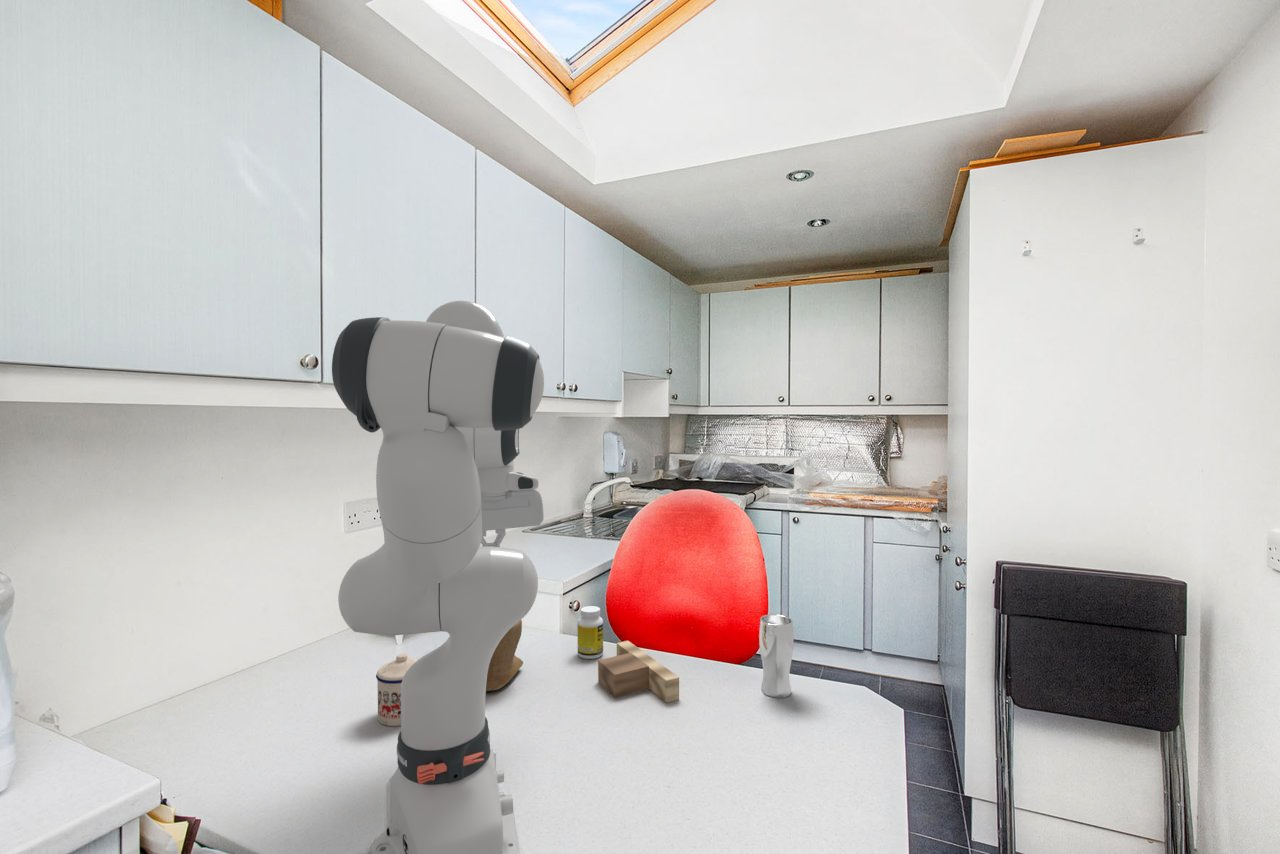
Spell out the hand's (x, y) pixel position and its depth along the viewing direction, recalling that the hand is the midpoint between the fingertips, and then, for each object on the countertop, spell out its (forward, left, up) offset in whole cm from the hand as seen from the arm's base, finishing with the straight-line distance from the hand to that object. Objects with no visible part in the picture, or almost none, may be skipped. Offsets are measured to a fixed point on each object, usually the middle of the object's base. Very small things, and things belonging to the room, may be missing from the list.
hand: (491, 553), depth 111 cm
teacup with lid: (+7, +14, -31) cm, 35 cm away
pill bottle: (+16, -28, -31) cm, 45 cm away
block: (-2, -27, -31) cm, 42 cm away
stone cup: (+14, -5, -31) cm, 35 cm away
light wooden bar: (-2, -33, -31) cm, 45 cm away
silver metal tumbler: (-20, -54, -31) cm, 66 cm away
